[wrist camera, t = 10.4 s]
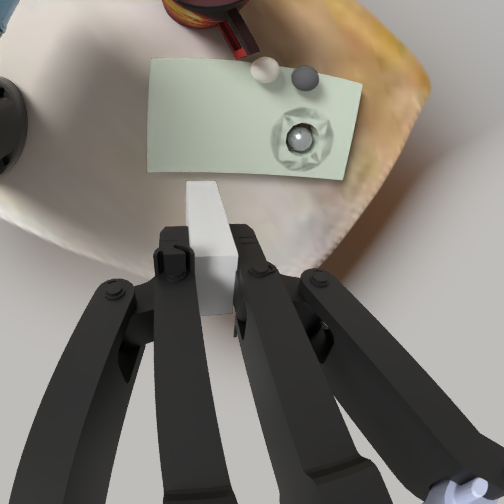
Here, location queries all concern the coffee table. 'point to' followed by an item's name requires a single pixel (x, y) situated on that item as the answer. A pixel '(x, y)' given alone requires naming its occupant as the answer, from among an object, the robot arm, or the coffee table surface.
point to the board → (245, 120)
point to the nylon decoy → (265, 69)
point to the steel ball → (299, 138)
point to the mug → (215, 20)
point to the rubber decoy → (305, 78)
